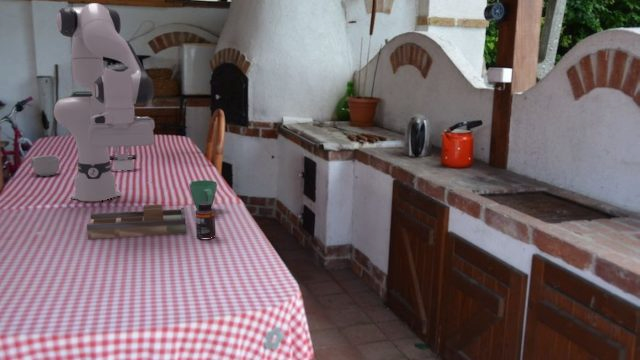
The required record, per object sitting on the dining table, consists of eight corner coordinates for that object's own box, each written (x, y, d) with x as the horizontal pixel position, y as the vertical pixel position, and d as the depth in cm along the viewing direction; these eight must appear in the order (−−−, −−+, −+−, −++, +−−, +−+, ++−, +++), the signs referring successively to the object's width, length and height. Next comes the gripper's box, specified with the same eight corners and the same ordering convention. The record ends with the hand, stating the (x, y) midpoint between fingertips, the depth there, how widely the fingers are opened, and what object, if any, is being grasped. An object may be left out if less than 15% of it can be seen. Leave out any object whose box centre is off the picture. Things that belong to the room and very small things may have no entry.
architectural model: (151, 174, 289) (150, 153, 286) (93, 177, 282) (92, 155, 280) (151, 166, 307) (150, 146, 305) (97, 168, 301) (95, 147, 299)
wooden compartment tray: (91, 226, 210) (91, 212, 209) (184, 221, 217) (183, 207, 216) (87, 238, 197) (86, 223, 196) (186, 233, 205) (185, 218, 204)
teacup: (65, 174, 285) (63, 157, 283) (43, 178, 276) (42, 160, 274) (45, 170, 292) (44, 153, 290) (24, 174, 283) (22, 157, 281)
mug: (187, 207, 234) (186, 181, 232) (213, 205, 238) (212, 179, 236) (197, 218, 221) (196, 190, 219) (224, 215, 225) (224, 188, 223)
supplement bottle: (213, 233, 205) (212, 199, 202) (217, 239, 199) (216, 204, 197) (194, 235, 203) (193, 201, 200) (198, 241, 197) (197, 206, 195)
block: (144, 218, 210) (143, 205, 209) (163, 217, 211) (162, 204, 210) (144, 223, 204) (143, 210, 203) (163, 222, 206) (162, 209, 205)
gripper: (154, 115, 206) (156, 157, 208) (87, 116, 201) (90, 159, 204) (154, 117, 200) (156, 160, 203) (85, 118, 195) (88, 163, 198)
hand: (122, 160), depth 203 cm, fingers closed
